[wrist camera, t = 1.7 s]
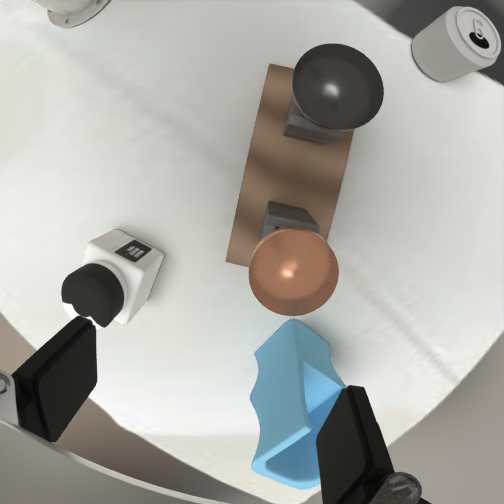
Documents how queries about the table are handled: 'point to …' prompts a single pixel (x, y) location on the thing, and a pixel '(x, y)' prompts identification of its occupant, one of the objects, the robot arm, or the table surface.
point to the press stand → (286, 171)
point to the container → (111, 279)
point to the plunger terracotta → (293, 271)
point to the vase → (292, 403)
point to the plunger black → (336, 87)
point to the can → (456, 44)
